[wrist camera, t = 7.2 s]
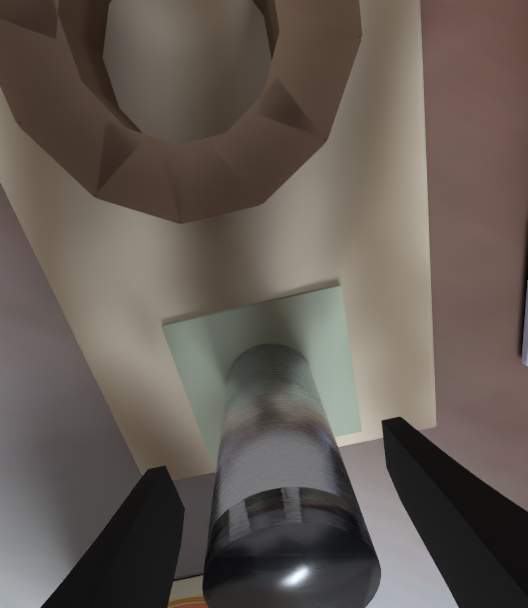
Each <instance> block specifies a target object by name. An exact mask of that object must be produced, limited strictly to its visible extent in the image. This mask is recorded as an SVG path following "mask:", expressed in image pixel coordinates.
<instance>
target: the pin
mask: <svg viewBox="0 0 528 608" xmlns="http://www.w3.org/2000/svg"><path fill="white" fill-rule="evenodd" d="M380 579H381V568H380V564H379V560H378V557H377V555H376V552H375V549H374V546H373V544H372V541H371V538H370V535H369V532H368V530H367V527H366V524H365V521H364V518H363V516H362V513H361V510H360V507H359V504H358V502H357V499H356V496H355V493H354V490H353V488H352V485H351V482H350V479H349V476H348V474H347V471H346V468H345V465H344V463H343V460H342V457H341V454H340V451H339V449H338V446H337V443H336V440H335V437H334V435H333V432H332V429H331V426H330V423H329V421H328V418H327V415H326V412H325V409H324V407H323V404H322V401H321V398H320V395H319V393H318V390H317V387H316V384H315V382H314V379H313V376H312V373H311V370H310V368H309V365H308V363H307V362H306V360H305V359H304V358H303V357H302V355H300V354H299V353H298V352H297V351H295V350H294V349H292V348H290V347H287V346H284V345H280V344H262V345H258V346H254V347H252V348H250V349H248V350H246V351H244V352H243V353H242V354H240V355H239V356H238V357H237V358H236V360H235V361H234V362H233V364H232V366H231V368H230V370H229V373H228V379H227V387H226V395H225V403H224V411H223V419H222V427H221V436H220V444H219V452H218V460H217V468H216V476H215V484H214V493H213V501H212V509H211V517H210V525H209V533H208V542H207V550H206V558H205V566H204V574H203V583H202V591H203V597H204V599H205V602H206V604H207V606H208V608H365V607H366V606H367V605H368V604H369V602H370V601H371V600H372V599H373V597H374V595H375V593H376V592H377V589H378V587H379V584H380Z"/></svg>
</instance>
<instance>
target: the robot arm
mask: <svg viewBox="0 0 528 608" xmlns="http://www.w3.org/2000/svg"><path fill="white" fill-rule="evenodd" d="M522 362H523V364H525V365H526V366H528V282H527V295H526V309H525V322H524V336H523V349H522ZM381 422H382V431H383V440H384V449H385V457H386V466H387V470H388V472H389V474H390V477H391V479H392V481H393V484H394V486H395V488H396V491H397V493H398V495H399V497H400V500H401V502H402V504H403V506H404V508H405V509H406V511H407V513H408V515H409V517H410V519H411V520H412V522H413V524H414V526H415V528H416V530H417V531H418V533H419V535H420V537H421V539H422V540H423V542H424V544H425V546H426V548H427V549H428V551H429V553H430V555H431V557H432V558H433V560H434V562H435V564H436V566H437V568H438V569H439V571H440V573H441V575H442V577H443V578H444V580H445V582H446V584H447V586H448V587H449V589H450V591H451V593H452V595H453V597H454V599H455V601H456V603H457V605H458V607H459V608H528V512H527V511H526V510H524V509H523V508H521V507H520V506H518V505H517V504H515V503H514V502H512V501H511V500H509V499H508V498H506V497H505V496H503V495H502V494H500V493H499V492H498V491H496V490H495V489H493V488H492V487H490V486H489V485H487V484H486V483H485V482H483V481H482V480H480V479H479V478H478V477H476V476H475V475H474V474H472V473H471V472H470V471H468V470H467V469H466V468H464V467H463V466H462V465H460V464H459V463H458V462H456V461H455V460H454V459H452V458H451V457H450V456H448V455H447V454H446V453H445V452H443V451H442V450H441V449H440V448H438V447H437V446H436V445H435V444H433V443H432V442H431V441H430V440H428V439H427V438H426V437H425V436H424V435H422V434H421V433H420V432H419V431H418V430H416V429H415V428H414V427H413V426H412V425H410V424H409V423H408V422H407V421H406V420H405V419H403V418H402V417H395V418H390V419H385V420H381ZM184 510H185V508H184V506H183V504H182V502H181V499H180V497H179V495H178V492H177V490H176V488H175V486H174V483H173V481H172V479H171V476H170V474H169V472H168V470H167V467H166V465H165V466H160V467H156V468H151V469H148V470H147V471H146V472H145V474H144V475H143V476H142V478H141V479H140V480H139V482H138V483H137V484H136V486H135V487H134V489H133V490H132V491H131V493H130V494H129V495H128V497H127V498H126V500H125V501H124V502H123V504H122V505H121V507H120V508H119V509H118V511H117V512H116V513H115V515H114V516H113V517H112V519H111V520H110V521H109V523H108V524H107V525H106V527H105V528H104V529H103V531H102V532H101V533H100V535H99V536H98V538H97V539H96V540H95V541H94V543H93V544H92V545H91V546H90V548H89V549H88V550H87V552H86V553H85V554H84V555H83V557H82V558H81V559H80V560H79V562H78V563H77V564H76V565H75V567H74V568H73V569H72V570H71V572H70V573H69V574H68V575H67V577H66V578H65V579H64V580H63V582H62V583H61V584H60V585H59V587H58V588H57V589H56V590H55V591H54V592H53V594H52V595H51V596H50V597H49V598H48V600H47V601H46V602H45V603H44V604H43V605H42V606H41V608H167V607H168V603H169V598H170V594H171V589H172V584H173V580H174V575H175V570H176V566H177V561H178V556H179V551H180V546H181V539H182V530H183V521H184Z"/></svg>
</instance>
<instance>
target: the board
mask: <svg viewBox="0 0 528 608" xmlns="http://www.w3.org/2000/svg"><path fill="white" fill-rule="evenodd" d="M0 183H1V185H2V187H3V189H4V191H5V193H6V195H7V197H8V199H9V201H10V204H11V206H12V208H13V210H14V212H15V214H16V216H17V218H18V220H19V222H20V224H21V226H22V228H23V231H24V233H25V235H26V237H27V239H28V241H29V243H30V245H31V247H32V249H33V251H34V253H35V255H36V258H37V260H38V262H39V264H40V266H41V268H42V270H43V272H44V274H45V276H46V278H47V280H48V282H49V284H50V287H51V289H52V291H53V293H54V295H55V297H56V299H57V301H58V303H59V305H60V307H61V309H62V311H63V314H64V316H65V318H66V320H67V322H68V324H69V326H70V328H71V330H72V332H73V334H74V336H75V338H76V341H77V343H78V345H79V347H80V349H81V351H82V353H83V355H84V357H85V359H86V361H87V363H88V365H89V367H90V370H91V372H92V374H93V376H94V378H95V380H96V382H97V384H98V386H99V388H100V390H101V392H102V394H103V397H104V399H105V401H106V403H107V405H108V407H109V409H110V411H111V413H112V415H113V417H114V419H115V421H116V424H117V426H118V428H119V430H120V432H121V434H122V436H123V438H124V440H125V442H126V444H127V446H128V448H129V450H130V453H131V455H132V457H133V459H134V461H135V463H136V465H137V467H138V469H139V471H140V473H141V475H142V476H143V475H144V474H145V472H146V471H147V470H148V469H151V468H156V467H160V466H165V465H166V467H167V470H168V472H169V474H170V476H171V479H172V481H176V480H181V479H185V478H190V477H195V476H200V475H205V474H210V473H214V472H216V468H217V460H218V452H219V444H220V436H221V427H222V419H223V411H224V403H225V395H226V387H227V379H228V373H229V370H230V368H231V366H232V364H233V362H234V361H235V360H236V358H237V357H238V356H239V355H240V354H242V353H243V352H244V351H246V350H248V349H250V348H252V347H254V346H258V345H262V344H280V345H284V346H287V347H290V348H292V349H294V350H295V351H297V352H298V353H299V354H300V355H302V357H303V358H304V359H305V360H306V362H307V363H308V365H309V368H310V370H311V373H312V376H313V379H314V382H315V384H316V387H317V390H318V393H319V395H320V398H321V401H322V404H323V407H324V409H325V412H326V415H327V418H328V421H329V423H330V426H331V429H332V432H333V435H334V437H335V440H336V443H337V446H338V447H340V446H345V445H350V444H355V443H359V442H364V441H369V440H374V439H379V438H383V431H382V422H381V420H385V419H390V418H395V417H402V418H403V419H405V420H406V421H407V422H408V423H409V424H410V425H412V426H413V427H414V428H415V429H416V430H422V429H427V428H432V427H436V404H435V378H434V352H433V325H432V299H431V273H430V246H429V220H428V194H427V167H426V141H425V115H424V88H423V62H422V36H421V9H420V0H0Z"/></svg>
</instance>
